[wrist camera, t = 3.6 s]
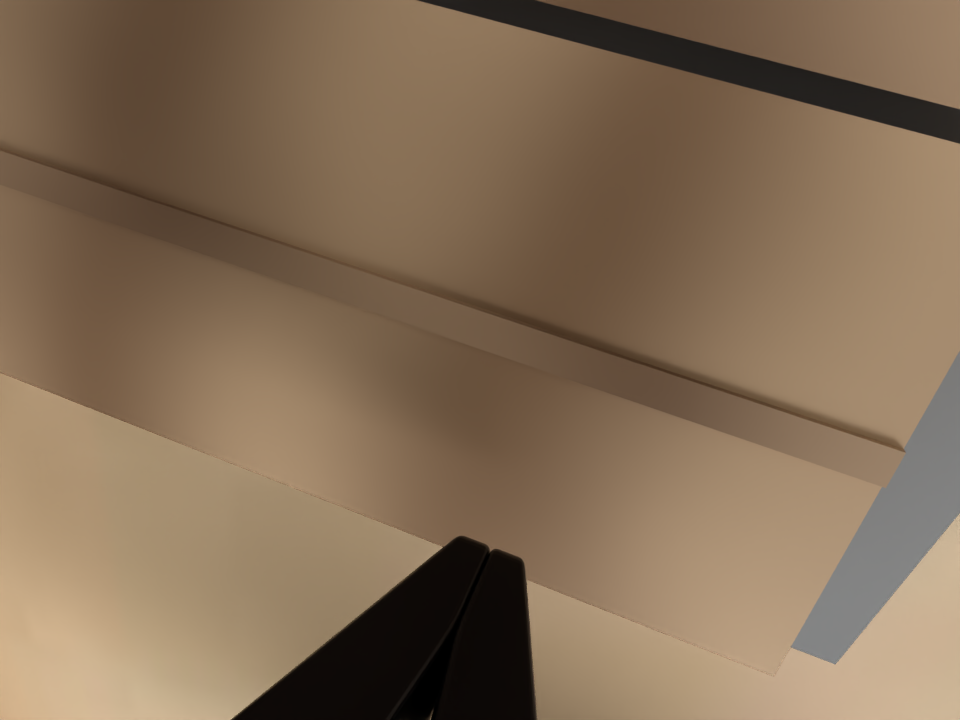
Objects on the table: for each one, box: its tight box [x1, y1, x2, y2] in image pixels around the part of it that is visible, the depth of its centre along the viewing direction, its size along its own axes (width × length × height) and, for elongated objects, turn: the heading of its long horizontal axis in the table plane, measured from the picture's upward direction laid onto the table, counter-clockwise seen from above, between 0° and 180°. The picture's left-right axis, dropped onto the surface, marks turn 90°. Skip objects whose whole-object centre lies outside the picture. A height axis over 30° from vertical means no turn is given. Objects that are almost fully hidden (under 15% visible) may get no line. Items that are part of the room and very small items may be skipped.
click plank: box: [0, 0, 960, 677], centre depth 11 cm, size 20×7×1 cm, turn 80°
